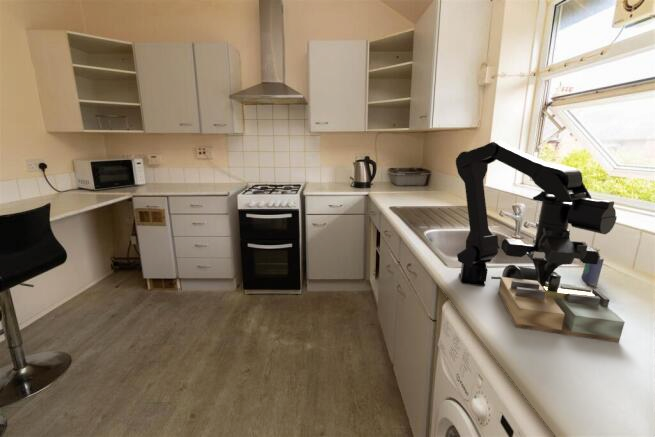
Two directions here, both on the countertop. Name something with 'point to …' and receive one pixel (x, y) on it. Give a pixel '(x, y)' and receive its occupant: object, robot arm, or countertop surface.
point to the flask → (592, 272)
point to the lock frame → (560, 310)
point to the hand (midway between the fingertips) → (541, 283)
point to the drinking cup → (521, 273)
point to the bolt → (555, 292)
